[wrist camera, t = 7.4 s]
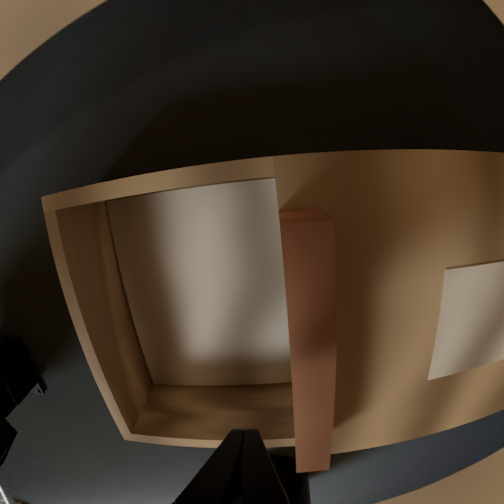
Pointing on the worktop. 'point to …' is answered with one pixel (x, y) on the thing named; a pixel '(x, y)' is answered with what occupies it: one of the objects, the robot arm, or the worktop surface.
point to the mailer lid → (391, 294)
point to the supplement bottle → (292, 480)
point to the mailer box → (181, 300)
